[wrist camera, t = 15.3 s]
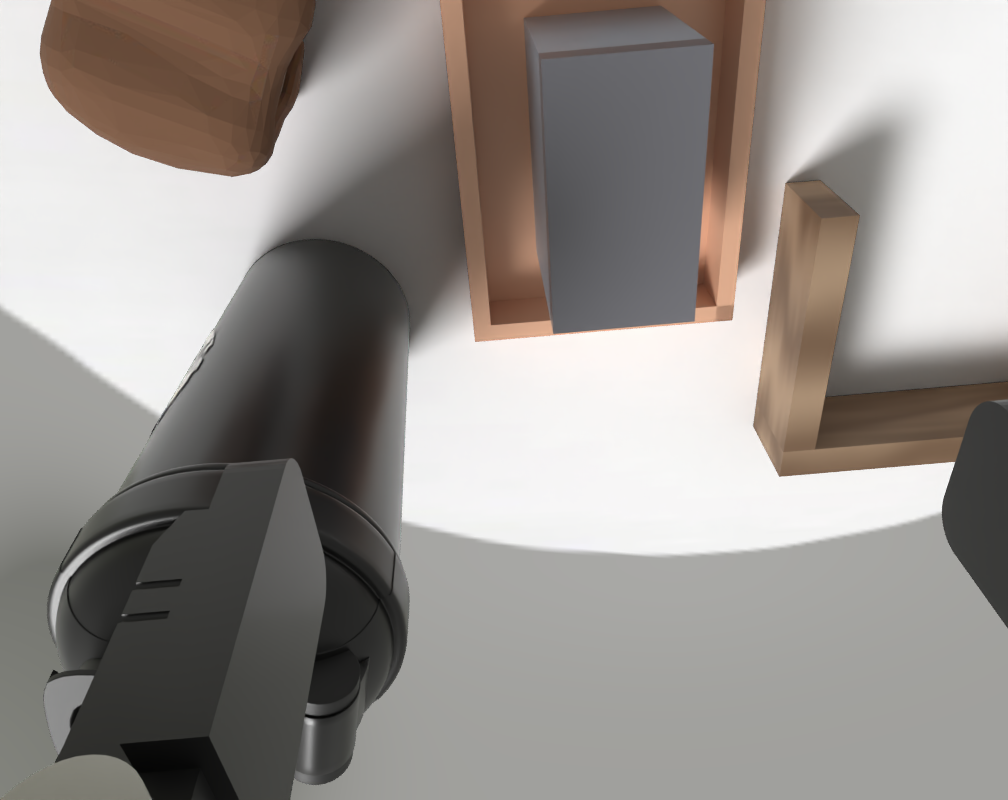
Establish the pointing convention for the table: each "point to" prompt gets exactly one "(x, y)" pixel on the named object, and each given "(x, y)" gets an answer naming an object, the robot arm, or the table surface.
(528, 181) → the tray
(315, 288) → the water bottle
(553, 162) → the grey rectangular prism
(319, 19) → the table surface
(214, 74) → the toy
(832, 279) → the bay
